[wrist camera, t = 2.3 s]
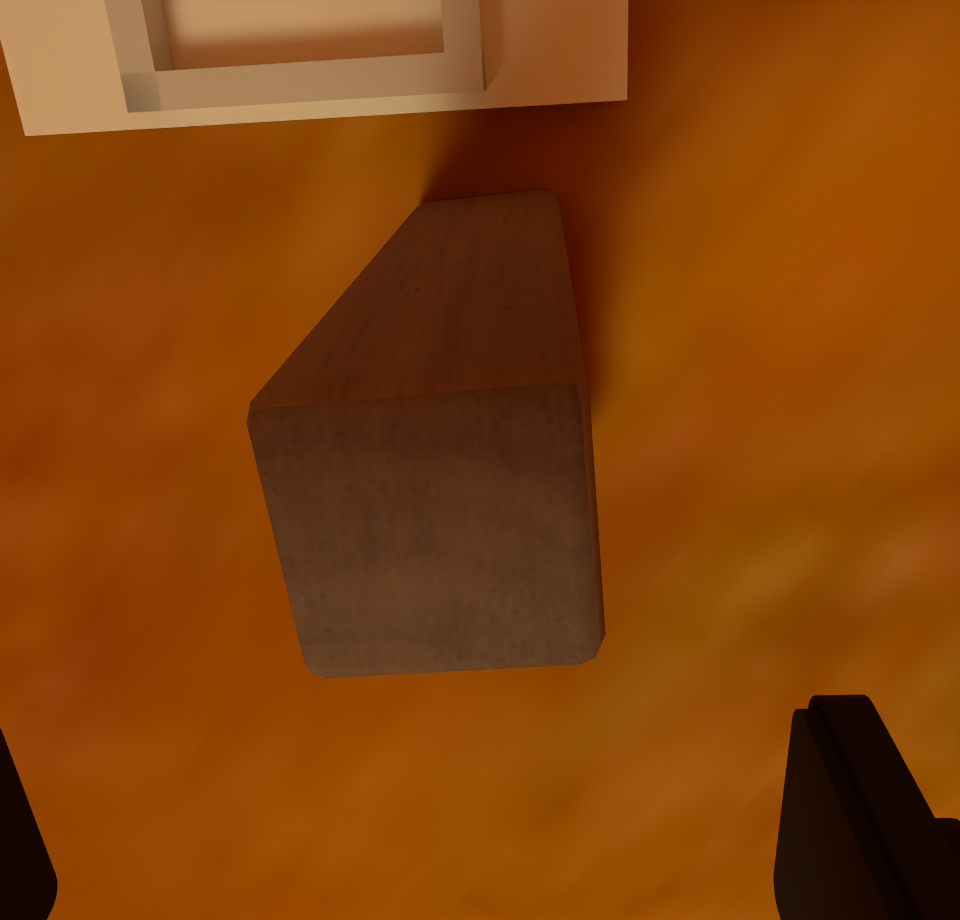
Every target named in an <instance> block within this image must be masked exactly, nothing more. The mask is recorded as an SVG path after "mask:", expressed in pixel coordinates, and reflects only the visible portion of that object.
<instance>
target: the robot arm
mask: <svg viewBox="0 0 960 920" xmlns="http://www.w3.org/2000/svg"><path fill="white" fill-rule="evenodd" d="M774 892H775V898H776V904H777V908H778V912H779V915H780V918H781V920H960V821H959V820H958V819H954V818H935V817H934V815H933V813H932V812H931V810H930V808H929V806H928V804H927V802H926V801H925V799H924V797H923V795H922V793H921V791H920V789H919V788H918V786H917V784H916V782H915V780H914V778H913V777H912V775H911V773H910V771H909V769H908V767H907V765H906V764H905V762H904V760H903V758H902V756H901V754H900V753H899V751H898V749H897V747H896V745H895V743H894V742H893V740H892V738H891V736H890V734H889V732H888V730H887V729H886V727H885V725H884V723H883V721H882V719H881V718H880V716H879V714H878V712H877V710H876V708H875V706H874V705H873V703H872V702H871V700H870V699H869V697H867V696H865V695H815V696H812V698H811V699H810V702H809V706H808V709H796V710H795V711H794V713H793V718H792V725H791V733H790V742H789V750H788V758H787V767H786V775H785V783H784V792H783V800H782V808H781V817H780V825H779V833H778V842H777V850H776V858H775V867H774ZM56 894H57V878H56V874H55V871H54V869H53V866H52V863H51V861H50V858H49V855H48V853H47V850H46V847H45V845H44V842H43V839H42V837H41V834H40V831H39V829H38V826H37V823H36V821H35V818H34V815H33V813H32V810H31V807H30V805H29V802H28V799H27V797H26V794H25V791H24V789H23V786H22V783H21V781H20V778H19V775H18V773H17V770H16V767H15V765H14V762H13V759H12V757H11V754H10V751H9V749H8V746H7V743H6V741H5V738H4V735H3V733H2V730H1V729H0V920H47V918H48V916H49V914H50V912H51V910H52V908H53V906H54V903H55V899H56Z"/></svg>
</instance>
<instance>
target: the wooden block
mask: <svg viewBox="0 0 960 920" xmlns="http://www.w3.org/2000/svg"><path fill="white" fill-rule="evenodd" d="M247 426H248V430H249V434H250V438H251V443H252V447H253V451H254V455H255V459H256V463H257V467H258V472H259V476H260V480H261V484H262V488H263V492H264V497H265V501H266V505H267V509H268V513H269V517H270V521H271V526H272V530H273V534H274V538H275V542H276V546H277V550H278V555H279V559H280V563H281V567H282V571H283V575H284V579H285V584H286V588H287V592H288V596H289V600H290V604H291V608H292V613H293V617H294V621H295V625H296V629H297V633H298V638H299V642H300V646H301V650H302V654H303V658H304V662H305V664H306V665H307V667H308V668H309V670H310V671H311V672H312V674H315V675H319V676H322V677H326V678H336V677H354V676H372V675H391V674H409V673H427V672H446V671H464V670H482V669H500V668H519V667H537V666H555V665H574V664H581V663H584V662H586V661H589V660H592V659H594V658H596V655H597V653H598V650H599V648H600V646H601V643H602V641H603V639H604V636H605V621H604V606H603V591H602V576H601V561H600V546H599V531H598V516H597V501H596V486H595V471H594V456H593V441H592V426H591V411H590V396H589V388H588V382H587V376H586V369H585V363H584V357H583V350H582V344H581V338H580V331H579V325H578V319H577V312H576V306H575V300H574V293H573V287H572V281H571V274H570V268H569V262H568V255H567V249H566V242H565V236H564V229H563V223H562V217H561V211H560V205H559V200H558V198H557V196H556V194H555V192H553V191H550V190H546V189H540V190H531V191H522V192H513V193H504V194H495V195H486V196H477V197H468V198H459V199H450V200H441V201H432V202H425V203H423V204H422V205H420V206H418V207H417V208H416V209H415V210H414V211H413V212H412V214H411V215H410V216H409V217H408V218H407V219H406V221H405V222H404V223H403V224H402V225H401V226H400V228H399V229H398V230H397V231H396V232H395V233H394V235H393V236H392V237H391V238H390V239H389V241H388V242H387V243H386V244H385V245H384V246H383V248H382V249H381V250H380V251H379V252H378V253H377V255H376V256H375V257H374V258H373V259H372V260H371V262H370V263H369V264H368V265H367V266H366V268H365V269H364V270H363V271H362V272H361V273H360V275H359V276H358V277H357V278H356V279H355V280H354V282H353V283H352V284H351V285H350V286H349V287H348V289H347V290H346V291H345V292H344V293H343V294H342V296H341V297H340V298H339V299H338V300H337V301H336V303H335V304H334V305H333V306H332V307H331V309H330V310H329V311H328V312H327V313H326V314H325V316H324V317H323V318H322V319H321V320H320V321H319V323H318V324H317V325H316V326H315V327H314V328H313V330H312V331H311V332H310V333H309V334H308V335H307V337H306V338H305V339H304V340H303V341H302V342H301V344H300V345H299V346H298V347H297V348H296V349H295V351H294V352H293V353H292V354H291V355H290V356H289V358H288V359H287V360H286V361H285V362H284V364H283V365H282V366H281V367H280V368H279V369H278V371H277V372H276V373H275V374H274V375H273V376H272V378H271V379H270V380H269V381H268V382H267V383H266V385H265V386H264V387H263V388H262V389H261V390H260V392H259V393H258V394H257V395H256V396H255V397H254V399H253V400H252V401H251V403H250V408H249V414H248V419H247Z"/></svg>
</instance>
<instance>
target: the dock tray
mask: <svg viewBox="0 0 960 920" xmlns="http://www.w3.org/2000/svg"><path fill="white" fill-rule="evenodd" d="M0 40H1V43H2V47H3V51H4V55H5V59H6V63H7V67H8V71H9V75H10V78H11V82H12V86H13V90H14V94H15V98H16V102H17V106H18V110H19V113H20V117H21V121H22V125H23V129H24V133H25V136H33V135H50V134H67V133H84V132H100V131H117V130H134V129H151V128H167V127H184V126H201V125H218V124H234V123H251V122H268V121H285V120H301V119H318V118H335V117H352V116H368V115H385V114H402V113H418V112H435V111H452V110H469V109H485V108H502V107H519V106H536V105H552V104H569V103H586V102H603V101H619V100H627V73H628V0H0Z"/></svg>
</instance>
